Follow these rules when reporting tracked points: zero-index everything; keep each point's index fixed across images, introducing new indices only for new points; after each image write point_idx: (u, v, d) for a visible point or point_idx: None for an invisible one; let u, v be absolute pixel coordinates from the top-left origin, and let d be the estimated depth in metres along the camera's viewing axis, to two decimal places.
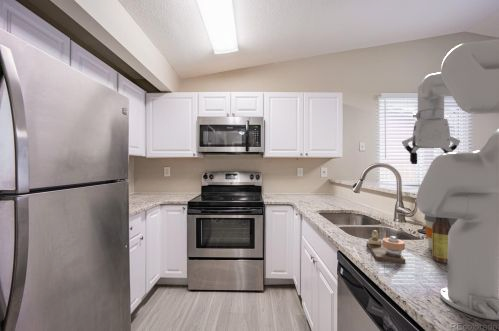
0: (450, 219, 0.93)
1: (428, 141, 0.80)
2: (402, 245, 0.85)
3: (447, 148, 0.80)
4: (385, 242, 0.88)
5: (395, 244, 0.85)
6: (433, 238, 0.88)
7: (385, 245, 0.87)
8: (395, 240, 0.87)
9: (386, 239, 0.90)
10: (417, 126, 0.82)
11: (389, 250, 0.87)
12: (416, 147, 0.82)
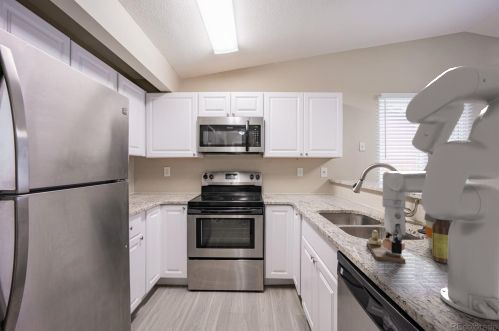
0: None
1: None
2: (402, 245, 0.85)
3: None
4: (385, 242, 0.88)
5: None
6: (433, 238, 0.88)
7: (385, 245, 0.87)
8: None
9: (386, 239, 0.90)
10: (403, 216, 0.83)
11: (389, 250, 0.87)
12: None
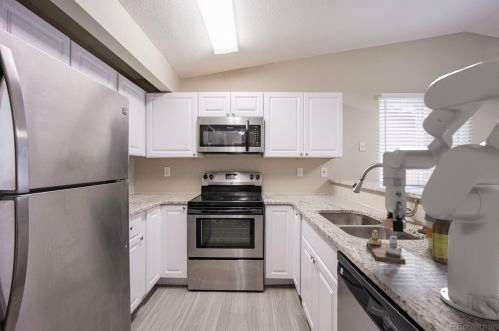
0: None
1: None
2: (403, 224, 0.84)
3: None
4: (386, 221, 0.87)
5: None
6: (433, 238, 0.88)
7: (386, 225, 0.87)
8: (395, 240, 0.87)
9: (387, 219, 0.89)
10: (404, 193, 0.83)
11: (389, 250, 0.87)
12: None
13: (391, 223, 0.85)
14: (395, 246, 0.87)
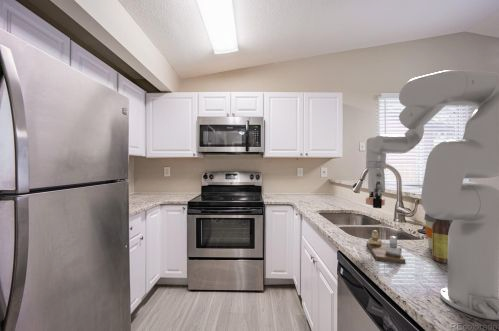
0: None
1: None
2: (382, 201, 0.97)
3: None
4: (368, 199, 0.99)
5: None
6: (433, 238, 0.88)
7: (368, 202, 0.99)
8: (395, 240, 0.87)
9: (369, 197, 1.01)
10: (383, 174, 0.95)
11: (389, 250, 0.87)
12: None
13: (371, 200, 0.98)
14: (395, 246, 0.87)
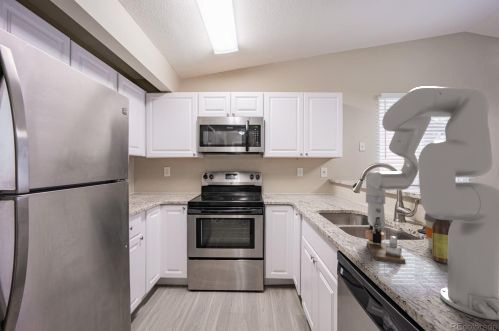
0: None
1: None
2: (382, 236, 0.97)
3: (376, 225, 1.03)
4: (367, 233, 0.99)
5: None
6: (433, 238, 0.88)
7: (367, 236, 0.99)
8: (395, 240, 0.87)
9: (369, 231, 1.01)
10: (382, 210, 0.95)
11: (389, 250, 0.87)
12: None
13: (371, 235, 0.98)
14: (395, 246, 0.87)
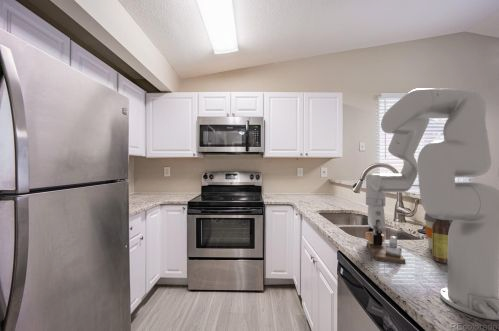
0: None
1: None
2: (382, 238, 0.97)
3: None
4: (367, 235, 0.99)
5: None
6: (433, 238, 0.87)
7: (367, 238, 0.99)
8: (395, 240, 0.87)
9: (369, 233, 1.01)
10: (382, 212, 0.95)
11: (389, 250, 0.87)
12: None
13: (371, 237, 0.98)
14: (395, 246, 0.87)
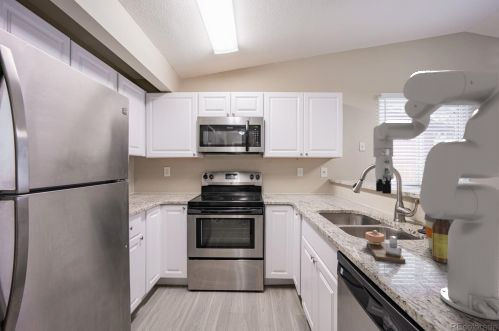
0: (450, 219, 0.93)
1: None
2: (382, 238, 0.97)
3: None
4: (367, 235, 0.99)
5: (376, 237, 0.97)
6: (433, 238, 0.88)
7: (367, 238, 0.99)
8: (395, 240, 0.87)
9: (369, 233, 1.01)
10: (391, 161, 0.95)
11: (389, 250, 0.87)
12: None
13: (371, 237, 0.98)
14: (395, 246, 0.87)
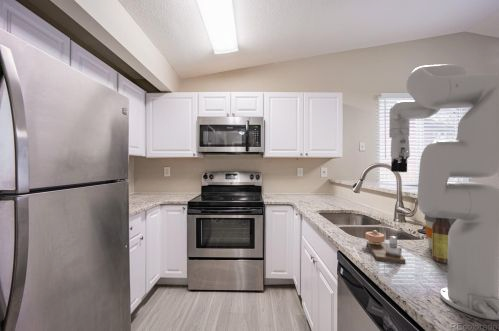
0: (450, 219, 0.93)
1: None
2: (382, 238, 0.97)
3: None
4: (367, 235, 0.99)
5: (376, 237, 0.97)
6: (433, 238, 0.88)
7: (367, 238, 0.99)
8: (395, 240, 0.87)
9: (369, 233, 1.01)
10: (407, 140, 0.98)
11: (389, 250, 0.87)
12: None
13: (371, 237, 0.98)
14: (395, 246, 0.87)
